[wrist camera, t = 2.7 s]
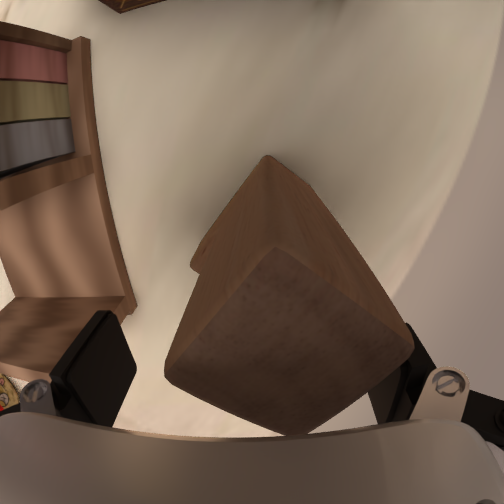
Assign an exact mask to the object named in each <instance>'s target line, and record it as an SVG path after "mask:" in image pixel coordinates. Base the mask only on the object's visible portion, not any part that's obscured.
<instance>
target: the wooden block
mask: <svg viewBox="0 0 504 504" xmlns="http://www.w3.org/2000/svg"><path fill="white" fill-rule="evenodd" d="M190 267H191V268H192V269H193V270H194V271H196V272H197V273H199V274H200V275H199V277H198V280H197V282H196V285H195V287H194V290H193V292H192V294H191V297H190V299H189V302H188V304H187V307H186V309H185V312H184V314H183V317H182V319H181V322H180V324H179V327H178V329H177V332H176V334H175V337H174V340H173V342H172V345H171V347H170V350H169V352H168V355H167V358H166V360H165V366H164V376H165V378H166V379H167V380H168V381H169V382H170V383H171V384H172V385H174V386H176V387H178V388H179V389H181V390H183V391H185V392H187V393H189V394H191V395H193V396H195V397H197V398H199V399H201V400H203V401H205V402H207V403H209V404H211V405H213V406H215V407H218V408H220V409H222V410H224V411H226V412H228V413H231V414H233V415H235V416H237V417H240V418H242V419H244V420H247V421H249V422H252V423H254V424H256V425H259V426H261V427H264V428H266V429H269V430H272V431H274V432H277V433H280V434H282V435H285V436H291V435H303V434H308V433H309V432H311V431H312V430H314V429H316V428H317V427H318V426H320V425H322V424H323V423H325V422H326V421H328V420H329V419H331V418H332V417H334V416H335V415H337V414H338V413H340V412H341V411H342V410H344V409H345V408H347V407H348V406H350V405H351V404H352V403H353V402H355V401H356V400H358V399H359V398H360V397H362V396H363V395H364V394H366V393H367V392H368V391H370V390H371V389H372V388H373V387H375V386H376V385H377V384H379V383H380V382H381V381H382V380H383V379H385V378H386V377H387V376H388V375H390V374H391V373H392V372H393V371H394V370H396V369H397V368H398V367H399V366H400V365H401V364H403V363H404V362H405V361H406V360H407V359H408V358H409V357H410V355H411V354H412V352H413V351H414V349H415V348H414V341H413V338H412V334H411V332H410V331H409V329H408V327H407V326H406V324H405V322H404V321H403V319H402V318H401V316H400V314H399V313H398V311H397V309H396V308H395V306H394V305H393V303H392V301H391V300H390V298H389V297H388V295H387V293H386V292H385V290H384V289H383V287H382V286H381V284H380V283H379V281H378V280H377V278H376V277H375V275H374V274H373V272H372V271H371V269H370V268H369V266H368V265H367V263H366V262H365V260H364V259H363V257H362V256H361V254H360V253H359V252H358V250H357V249H356V247H355V246H354V244H353V243H352V242H351V240H350V239H349V237H348V236H347V235H346V233H345V232H344V230H343V229H342V228H341V226H340V225H339V223H338V222H337V221H336V219H335V218H334V217H333V215H332V214H331V213H330V211H329V210H328V209H327V207H326V206H325V205H324V203H323V202H322V201H321V200H320V198H319V197H318V196H317V194H316V193H315V192H314V190H313V189H312V188H311V186H309V185H308V184H307V183H306V182H304V181H303V180H302V179H300V178H299V177H298V176H297V175H295V174H294V173H293V172H291V171H290V170H289V169H287V168H286V167H285V166H283V165H282V164H281V163H279V162H278V161H277V160H275V159H274V158H273V157H271V156H268V155H266V156H264V157H263V158H262V159H261V161H260V162H259V163H258V165H257V166H256V167H255V168H254V170H253V171H252V172H251V174H250V175H249V176H248V178H247V179H246V180H245V182H244V183H243V184H242V186H241V187H240V188H239V190H238V191H237V192H236V194H235V195H234V197H233V198H232V199H231V201H230V202H229V203H228V205H227V206H226V207H225V209H224V210H223V212H222V213H221V214H220V216H219V217H218V218H217V220H216V221H215V223H214V224H213V225H212V227H211V228H210V230H209V231H208V232H207V234H206V235H205V237H204V238H203V239H202V241H201V243H200V244H199V246H198V248H197V250H196V252H195V254H194V256H193V258H192V260H191V261H190Z"/></svg>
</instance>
